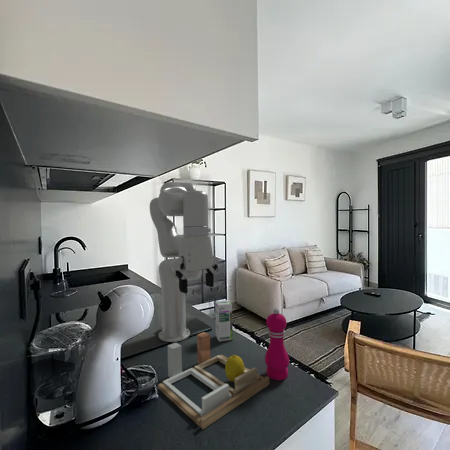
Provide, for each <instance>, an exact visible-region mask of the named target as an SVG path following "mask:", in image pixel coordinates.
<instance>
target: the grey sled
mask: <svg viewBox="0 0 450 450" xmlns="http://www.w3.org/2000/svg"><path fill="white" fill-rule="evenodd" d="M182 347H183V346H182V345H181V344H179V343H178V342H172V343H171V344H168V345H167V377H169V378H167V379H164V380H162V384H163V385H164V386H166V387H167V388H168V389H169V390H170V391H171V392H172V393H174V394H175V395H176V396H177V397H178V398H179V399H180V400H182V401H183V402H184V403H185V404H186V405H187V406H188V407H190V408H191V409H192V410H193V411H194V412H195V413H197V414H198V415H199V416H200V417H201V418H202V417H203V416H205V415H206V414H208V413H209V412H211V411H212V410H214V409H216V408H217V407H219V406H220V405H222V404H223V403H225V402H227V401H228V400H230V399H231V398H232V395H231V394H230V393H229V386H230V385H229V384H228V383H225V384H224V385H223V386H221V387H219V386H218V385H217V384H215V383H214V382H212V381H211V380H209V379H208V378H206V377H205V376H203V375H202V374H200V373H199V372H197V371H196V370H194V369H193V368H194V367H190V368H188V369H186V370H183V362H182V361H183V359H182V358H183V356H182V355H183V354H182V353H183V352H182ZM190 375H191V376H193V377H194V378H196V379H197V380H198V381H200V382H201V383H203V384H204V385H206V386H207V387H209V388H210V389H211V390H212V391H211V392H209V393H207V394H205V395H204V396H202V397H201V408H200V406H198V405H197V404H195V402H193V401H192V400H190V398H188V397H187V396H186V395H185V394H184V393H182V392H181V391H180V390H179V389H177V388H176V387H175V385H172V384H173V383H176V382H178V381H180V380H182V379H184V378H186V377H189V376H190Z"/></svg>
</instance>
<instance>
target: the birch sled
mask: <svg viewBox="0 0 450 450" xmlns="http://www.w3.org/2000/svg"><path fill="white" fill-rule="evenodd" d="M196 338H197V339H196V341H197V342H196V344H197V345H196V346H197V350H196V352H197V363H198V364H196V365H195V366H194V365H193V366H194V367H193V368H195V369H196V370H198V371H199V372H201V373H202V374H204V375H205V376H207V377H208V378H210V379H211V380H213V381H214V382H215V383H217V384H218V385H220V386H223V385H224V384H226V383H225V382H224V381H222V380H220V379H219V378H217V377H216V376H215V375H213V374H211V373H209V372H208V371H207V370H205V368H207V367H208V366H211V365H213V364H214V363H218V362H219V363H221V364H223V365H226V362H227V360H226V359H225V358H223V357H221V356H220V355H219V354H218V355H216V356H214V357H212V358H211V334H209V333H208V332H205V331H204V332H201V333H199V334H196ZM257 374H258V368H257V367H252V368H251V369H250V368H249V371H247V370H245V369H244V374H242V375H240V376H238V377H237V378H235V383H234V388H233V387H231V386H230V385H229V392H230V393H232V394H233V395H235V396H236V395H237V394H239V393H241V392H242V391H244V390H245V389H247V388H248V387H250V386H252V385H253V384H255V383H256V382H258V381H259V380H260V378H259V377H258V376H257Z"/></svg>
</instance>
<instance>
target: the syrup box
mask: <svg viewBox="0 0 450 450" xmlns="http://www.w3.org/2000/svg"><path fill="white" fill-rule="evenodd" d="M214 307H215V308H214V310H215V311H214V313H215V315H214V317H215V318H214V319H215V337H216V339H217V340H218V342H219V343H220V342H227V341H233V340H234V339H233V338H234V337H233V335H234V334H233V303H232V302H231V301H230V300H229V299H225V300H216V301H214Z"/></svg>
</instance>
